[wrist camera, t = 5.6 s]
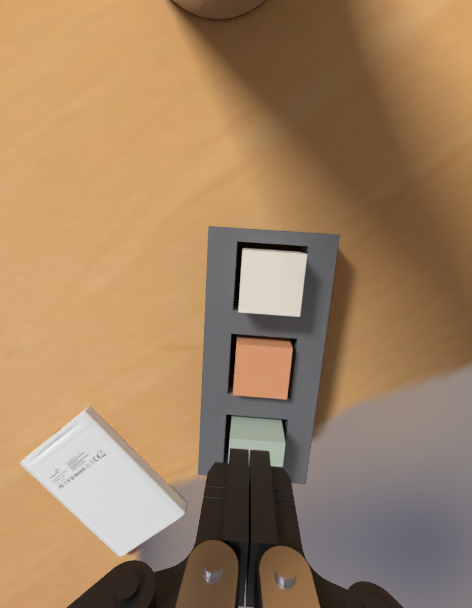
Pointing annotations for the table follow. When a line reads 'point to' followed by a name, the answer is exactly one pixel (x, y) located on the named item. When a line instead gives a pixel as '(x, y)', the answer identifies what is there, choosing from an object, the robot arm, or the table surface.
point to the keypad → (301, 330)
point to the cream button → (272, 282)
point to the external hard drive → (105, 483)
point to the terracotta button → (262, 366)
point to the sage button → (258, 436)
